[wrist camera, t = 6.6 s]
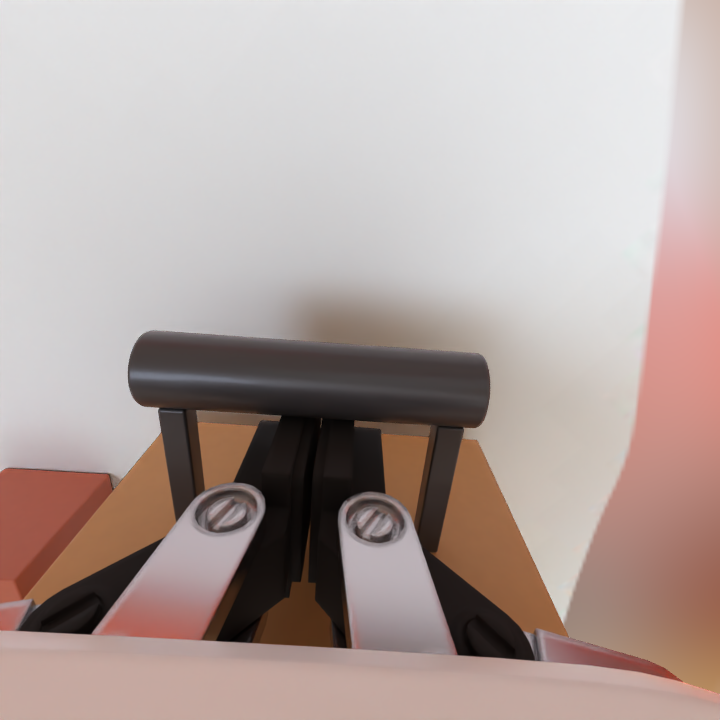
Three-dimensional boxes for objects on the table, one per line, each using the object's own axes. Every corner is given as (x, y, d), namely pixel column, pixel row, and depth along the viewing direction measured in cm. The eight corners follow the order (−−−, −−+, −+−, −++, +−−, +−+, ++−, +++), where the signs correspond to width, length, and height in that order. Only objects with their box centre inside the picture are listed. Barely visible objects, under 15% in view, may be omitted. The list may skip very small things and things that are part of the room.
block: (5, 467, 16) (-131, 573, 12) (109, 473, 17) (13, 581, 12) (33, 541, 18) (-77, 658, 14) (126, 546, 18) (49, 664, 14)
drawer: (150, 275, 12) (-158, 397, 5) (510, 301, 13) (714, 453, 5) (203, 643, 20) (113, 902, 13) (426, 654, 20) (463, 913, 13)
